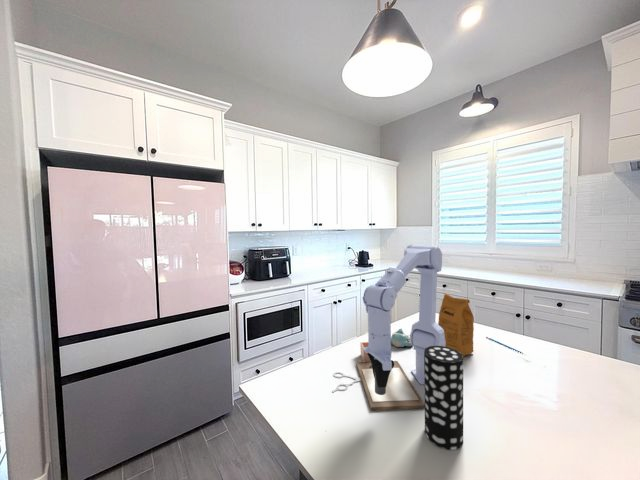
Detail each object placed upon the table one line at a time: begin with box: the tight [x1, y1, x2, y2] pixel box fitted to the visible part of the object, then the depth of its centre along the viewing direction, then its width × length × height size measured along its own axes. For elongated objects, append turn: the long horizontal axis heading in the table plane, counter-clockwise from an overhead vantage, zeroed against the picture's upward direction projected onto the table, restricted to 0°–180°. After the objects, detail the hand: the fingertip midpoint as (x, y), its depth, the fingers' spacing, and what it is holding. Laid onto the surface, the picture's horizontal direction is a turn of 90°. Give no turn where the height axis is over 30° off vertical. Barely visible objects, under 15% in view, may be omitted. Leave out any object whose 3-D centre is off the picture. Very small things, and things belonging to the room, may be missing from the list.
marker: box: [374, 357, 386, 395], centre depth 69 cm, size 3×3×9 cm
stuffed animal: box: [391, 328, 413, 348], centre depth 112 cm, size 11×7×12 cm
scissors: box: [331, 371, 362, 393], centre depth 86 cm, size 11×1×20 cm
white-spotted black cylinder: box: [423, 346, 464, 451], centre depth 62 cm, size 8×8×20 cm
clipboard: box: [356, 360, 425, 412], centre depth 84 cm, size 15×24×2 cm, turn 1°
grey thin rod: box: [485, 336, 525, 355], centre depth 108 cm, size 1×17×1 cm, turn 16°
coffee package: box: [437, 293, 475, 357], centre depth 105 cm, size 10×12×22 cm
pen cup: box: [360, 341, 371, 362], centre depth 100 cm, size 6×6×5 cm
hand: (380, 382), depth 69 cm, fingers closed on marker, 3 cm apart
